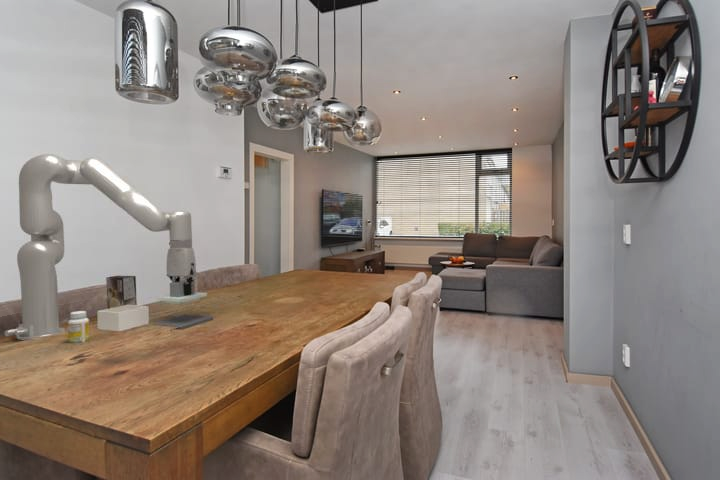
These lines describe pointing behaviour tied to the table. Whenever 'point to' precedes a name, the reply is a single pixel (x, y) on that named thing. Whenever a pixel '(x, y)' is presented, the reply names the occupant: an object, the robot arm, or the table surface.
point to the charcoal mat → (183, 321)
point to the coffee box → (121, 291)
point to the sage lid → (181, 294)
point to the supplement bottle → (78, 327)
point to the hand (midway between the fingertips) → (182, 293)
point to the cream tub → (123, 317)
